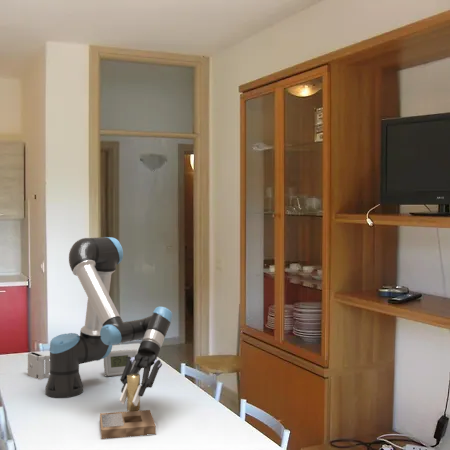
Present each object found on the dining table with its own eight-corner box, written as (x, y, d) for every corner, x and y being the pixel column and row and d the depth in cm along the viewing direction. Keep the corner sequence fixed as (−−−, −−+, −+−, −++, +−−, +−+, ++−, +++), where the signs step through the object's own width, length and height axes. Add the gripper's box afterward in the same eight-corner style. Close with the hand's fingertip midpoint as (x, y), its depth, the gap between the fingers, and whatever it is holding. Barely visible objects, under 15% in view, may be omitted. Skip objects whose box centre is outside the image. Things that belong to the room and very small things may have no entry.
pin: (127, 412, 205) (127, 377, 204) (126, 407, 209) (126, 373, 209) (140, 411, 206) (140, 376, 205) (139, 406, 210) (139, 373, 210)
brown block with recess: (101, 438, 197) (101, 429, 197) (99, 421, 213) (99, 412, 213) (155, 434, 202) (155, 425, 202) (150, 417, 217) (150, 409, 217)
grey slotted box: (54, 378, 266) (54, 355, 265) (45, 381, 261) (45, 358, 260) (32, 373, 273) (32, 351, 272) (23, 376, 268) (23, 354, 268)
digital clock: (103, 377, 267) (103, 354, 267) (103, 372, 276) (103, 349, 275) (139, 375, 270) (139, 352, 270) (138, 370, 279) (138, 348, 279)
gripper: (175, 352, 218) (154, 411, 203) (133, 348, 224) (110, 405, 209) (169, 341, 213) (146, 401, 198) (126, 337, 219) (102, 394, 204)
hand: (128, 403), depth 204 cm, fingers closed on pin, 4 cm apart
